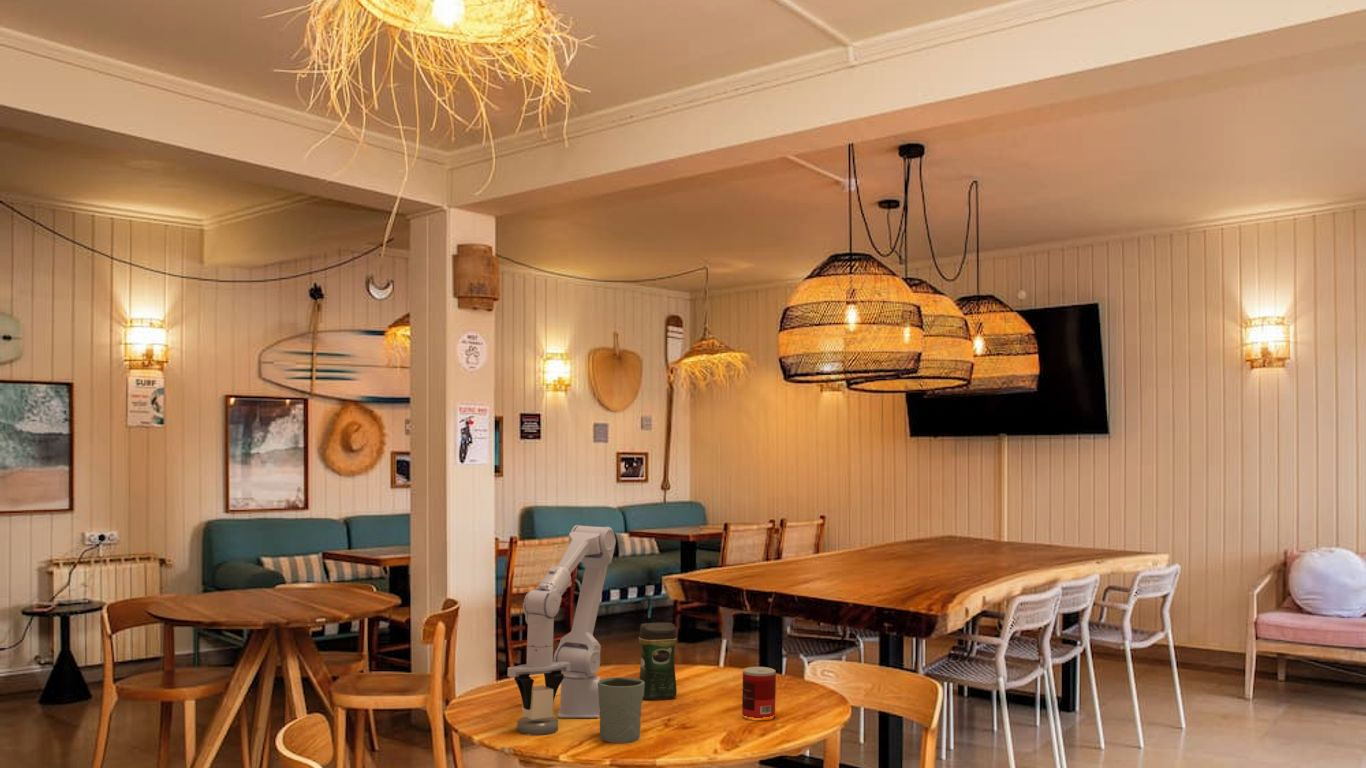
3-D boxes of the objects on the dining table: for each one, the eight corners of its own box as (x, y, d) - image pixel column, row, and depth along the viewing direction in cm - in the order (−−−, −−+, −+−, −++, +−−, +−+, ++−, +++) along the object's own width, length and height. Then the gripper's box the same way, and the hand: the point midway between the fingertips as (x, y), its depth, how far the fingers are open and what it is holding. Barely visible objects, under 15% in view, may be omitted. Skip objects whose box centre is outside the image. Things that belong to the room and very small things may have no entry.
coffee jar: (670, 692, 274) (672, 619, 275) (679, 699, 266) (681, 624, 267) (634, 694, 271) (636, 620, 272) (641, 701, 263) (643, 625, 264)
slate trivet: (558, 724, 239) (559, 715, 239) (557, 735, 230) (557, 725, 230) (518, 724, 239) (518, 715, 239) (515, 735, 230) (515, 725, 230)
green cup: (605, 745, 223) (606, 687, 224) (589, 733, 232) (591, 678, 233) (650, 741, 227) (651, 684, 228) (633, 729, 237) (634, 675, 237)
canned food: (779, 715, 252) (780, 668, 253) (767, 723, 245) (768, 674, 246) (749, 711, 255) (750, 665, 256) (737, 718, 248) (737, 671, 249)
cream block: (542, 712, 238) (543, 685, 239) (552, 716, 234) (553, 689, 235) (522, 715, 235) (522, 687, 236) (532, 719, 231) (533, 691, 232)
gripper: (560, 639, 243) (558, 699, 242) (502, 644, 235) (500, 707, 234) (575, 644, 237) (573, 706, 236) (516, 650, 229) (514, 714, 228)
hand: (538, 707), depth 235 cm, fingers closed on cream block, 5 cm apart
